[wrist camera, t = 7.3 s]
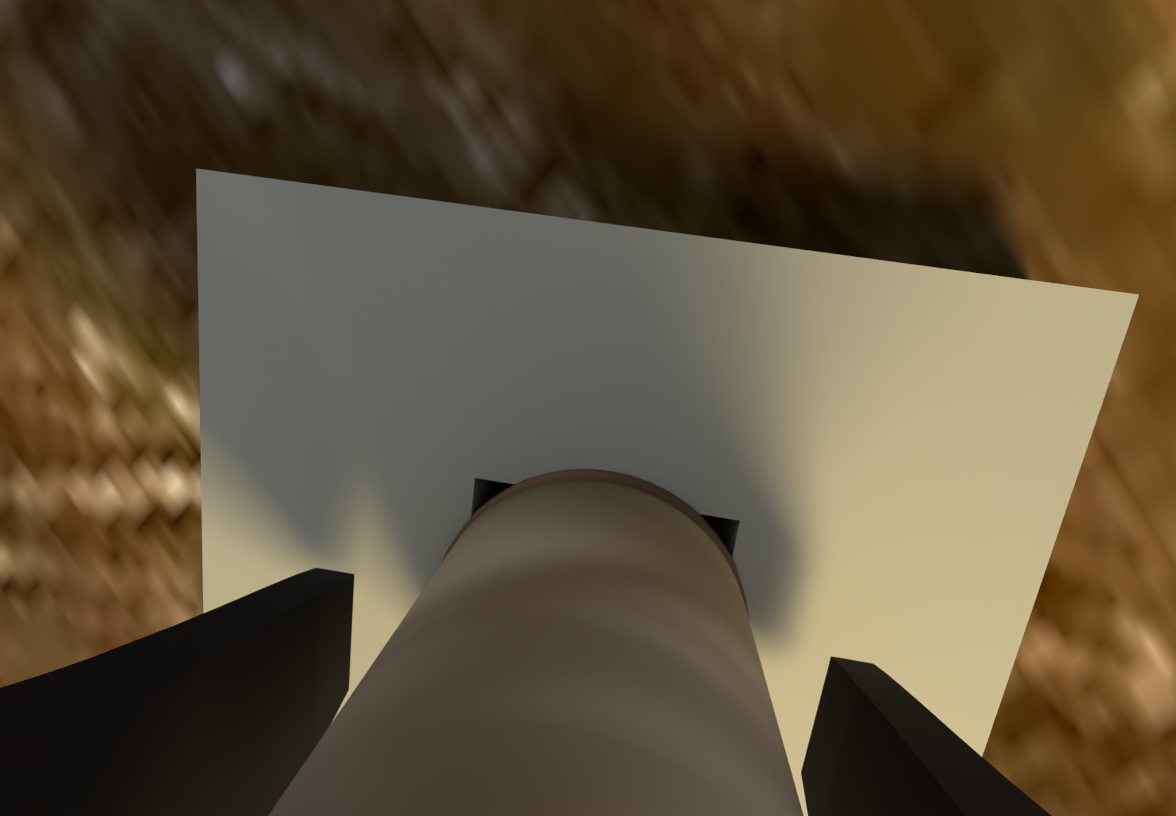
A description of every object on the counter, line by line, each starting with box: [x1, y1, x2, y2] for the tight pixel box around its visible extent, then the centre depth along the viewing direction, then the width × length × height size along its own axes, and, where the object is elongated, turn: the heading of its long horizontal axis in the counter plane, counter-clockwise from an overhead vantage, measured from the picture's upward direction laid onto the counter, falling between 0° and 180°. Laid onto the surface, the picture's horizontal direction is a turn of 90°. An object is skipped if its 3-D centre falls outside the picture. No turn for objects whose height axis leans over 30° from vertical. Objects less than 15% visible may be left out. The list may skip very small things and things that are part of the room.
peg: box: [268, 469, 804, 816], centre depth 9 cm, size 5×5×8 cm
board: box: [196, 169, 1139, 816], centre depth 12 cm, size 14×13×2 cm
